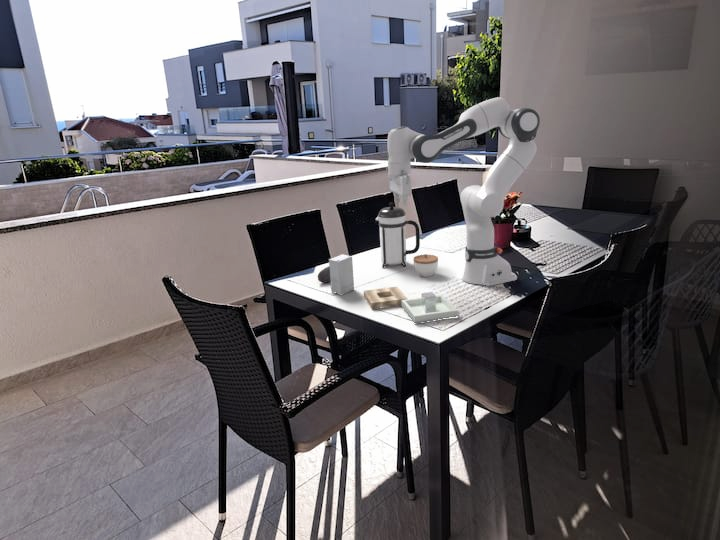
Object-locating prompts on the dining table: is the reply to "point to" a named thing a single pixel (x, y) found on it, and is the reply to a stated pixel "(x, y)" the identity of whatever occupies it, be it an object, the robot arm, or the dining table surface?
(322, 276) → the perforated stone tool
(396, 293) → the socket block
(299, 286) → the dining table surface
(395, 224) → the coffee press
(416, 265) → the lidded jar
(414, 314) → the tray
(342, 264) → the skincare box
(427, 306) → the pin
